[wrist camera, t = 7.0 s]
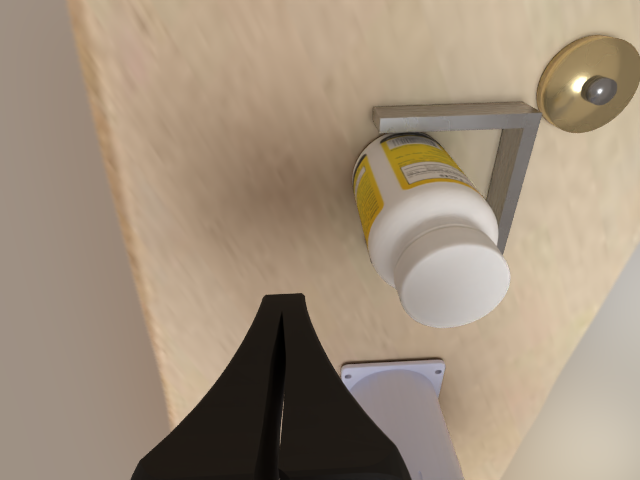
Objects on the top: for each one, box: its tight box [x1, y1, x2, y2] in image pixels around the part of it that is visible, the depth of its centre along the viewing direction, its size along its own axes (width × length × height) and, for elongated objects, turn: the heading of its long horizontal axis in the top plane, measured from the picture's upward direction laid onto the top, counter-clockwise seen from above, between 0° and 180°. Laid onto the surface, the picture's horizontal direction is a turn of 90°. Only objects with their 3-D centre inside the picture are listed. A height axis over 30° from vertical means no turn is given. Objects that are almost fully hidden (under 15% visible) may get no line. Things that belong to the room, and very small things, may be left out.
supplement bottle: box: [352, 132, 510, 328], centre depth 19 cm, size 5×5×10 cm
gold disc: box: [537, 35, 640, 133], centre depth 20 cm, size 4×4×2 cm
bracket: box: [369, 102, 542, 263], centre depth 22 cm, size 8×8×2 cm
